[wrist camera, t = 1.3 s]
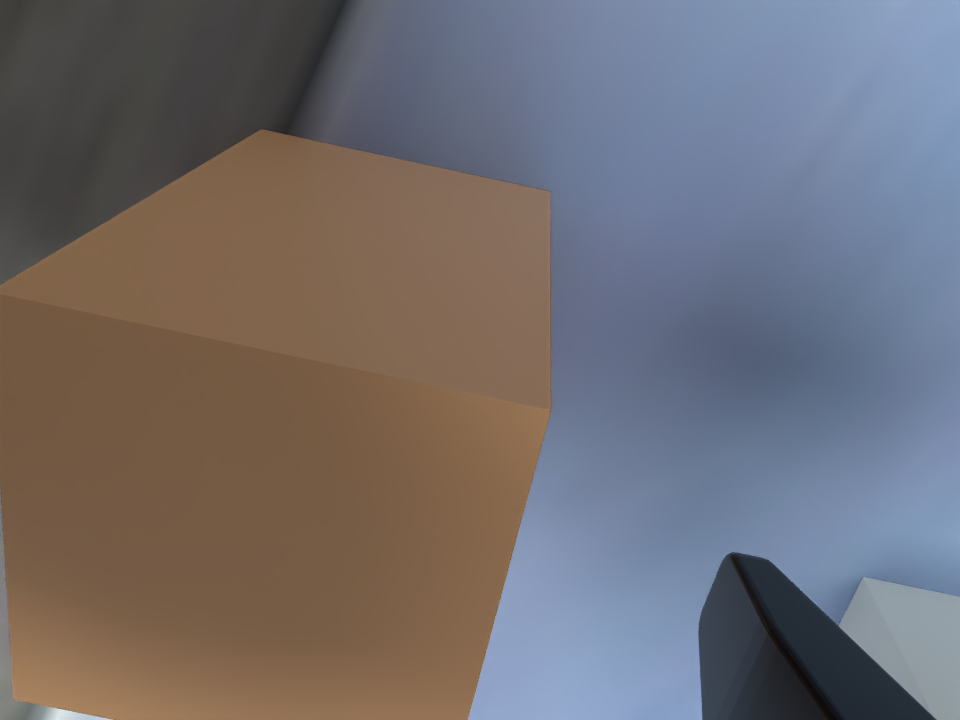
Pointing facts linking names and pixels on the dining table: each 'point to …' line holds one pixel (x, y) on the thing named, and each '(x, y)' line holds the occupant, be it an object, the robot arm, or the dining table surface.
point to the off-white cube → (911, 640)
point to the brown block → (274, 439)
